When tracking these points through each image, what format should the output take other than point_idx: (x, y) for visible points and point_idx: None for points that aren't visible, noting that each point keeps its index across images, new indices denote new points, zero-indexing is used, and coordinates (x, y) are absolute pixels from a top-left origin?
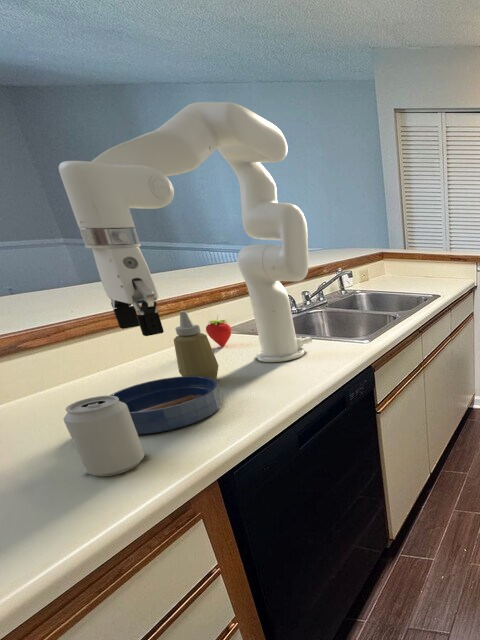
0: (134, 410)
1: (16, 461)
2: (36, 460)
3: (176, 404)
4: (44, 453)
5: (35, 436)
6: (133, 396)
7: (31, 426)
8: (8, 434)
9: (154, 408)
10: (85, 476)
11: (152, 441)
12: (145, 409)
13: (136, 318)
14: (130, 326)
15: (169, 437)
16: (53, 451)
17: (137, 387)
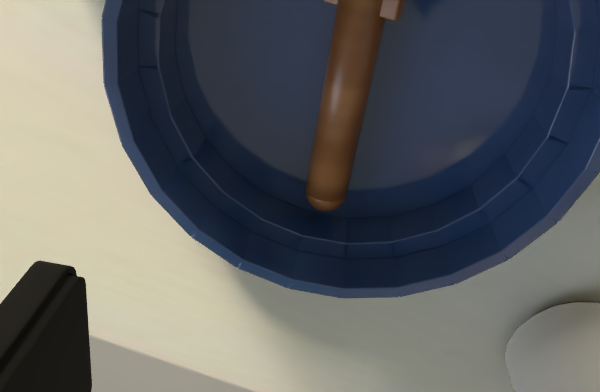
0: (198, 103)
1: (266, 385)
2: (308, 372)
3: (381, 36)
4: (281, 350)
5: (127, 307)
6: (142, 90)
7: None
8: None
9: (354, 123)
10: None
11: None
12: (337, 150)
13: (41, 350)
14: (88, 348)
15: None
16: (290, 339)
17: (121, 74)
